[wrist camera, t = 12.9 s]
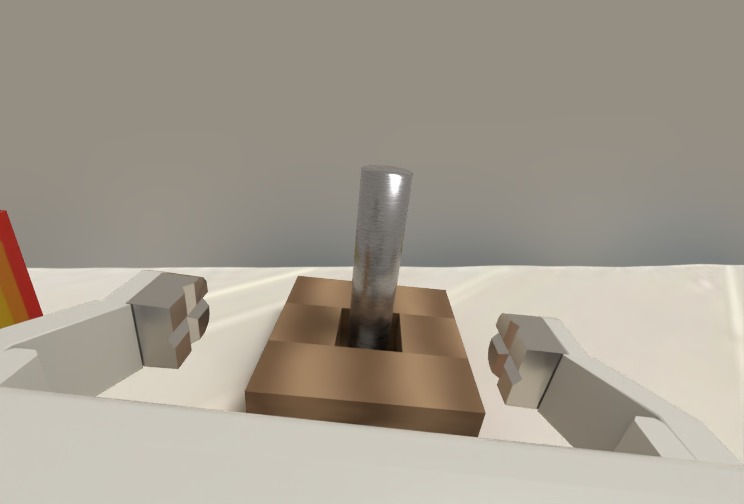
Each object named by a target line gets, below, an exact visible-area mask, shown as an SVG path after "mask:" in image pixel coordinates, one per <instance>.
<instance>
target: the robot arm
mask: <svg viewBox="0 0 744 504" xmlns="http://www.w3.org/2000/svg"><path fill="white" fill-rule="evenodd" d="M207 292H208V290H207V282H206V280H205V279H204V278H203V277H198V276H190V275H183V274H176V273H169V272H162V271H153V270H143V271H141V272H140V273H139V274H137V275H136V276H135V277H133V278H132V279H131V280H129V281H128V282H127V283H125V284H124V285H122V286H121V287H120V288H118V289H117V290H116V291H114V292H113V293H112V294H110V295H109V296H108V297H106V298H105V299H104V300H102V301H97V300H95V301H91V302H88V303H85V304H81V305H78V306H75V307H71V308H68V309H65V310H61V311H58V312H55V313H51V314H48V315H45V316H41V317H38V318H35V319H31V320H28V321H25V322H21V323H18V324H15V325H12V326H8V327H5V328H2V329H0V504H744V465H743V464H742V463H741V462H740V461H739V460H738V459H737V458H736V457H735V456H734V455H733V454H732V452H731V451H730V450H729V449H728V448H727V447H726V446H725V445H724V444H723V443H722V442H721V441H720V440H719V439H718V438H717V437H716V436H715V435H714V434H713V433H712V432H711V431H710V430H709V429H708V428H707V427H706V426H705V425H704V424H703V423H702V422H701V421H699V420H698V419H696V418H694V417H693V416H691V415H689V414H688V413H686V412H684V411H683V410H681V409H679V408H678V407H676V406H674V405H673V404H671V403H669V402H668V401H666V400H664V399H663V398H661V397H660V396H658V395H656V394H655V393H653V392H651V391H650V390H648V389H646V388H645V387H643V386H641V385H640V384H638V383H636V382H635V381H633V380H631V379H630V378H628V377H626V376H625V375H623V374H621V373H620V372H618V371H616V370H615V369H613V368H611V367H610V366H608V365H606V364H605V363H603V362H601V361H600V360H598V359H596V358H592V357H589V356H588V355H587V353H586V352H585V351H584V349H583V348H582V347H581V346H580V344H579V343H578V342H577V341H576V339H575V338H574V337H573V336H572V334H571V333H570V332H569V331H568V329H567V328H566V327H565V326H564V324H563V323H562V322H561V320H559V319H557V318H550V317H536V316H526V315H515V314H504V313H502V314H501V315H500V317H499V318H498V321H497V324H496V327H497V329H498V331H499V333H498V334H497V335H495V336H494V337H493V338H492V339H491V342H490V345H489V351H488V360H489V365H490V368H491V371H492V373H494V374H495V375H496V376H497V377H498V378H499V381H498V384H497V386H498V388H499V391H500V393H501V396H502V398H503V401H504V403H505V405H509V406H516V407H523V408H531V409H538V412H539V413H540V414H541V415H542V416H543V417H544V418H545V419H546V420H547V421H548V422H549V423H550V424H551V425H552V426H553V427H554V428H555V429H556V430H557V431H558V432H559V433H560V434H561V435H562V436H563V437H564V438H565V439H566V440H567V441H568V442H569V443H570V444H571V445H572V446H573V447H574V448H572V447H563V446H553V445H544V444H534V443H525V442H516V441H506V440H497V439H488V438H478V437H469V436H460V435H450V434H441V433H432V432H422V431H413V430H404V429H394V428H385V427H375V426H366V425H356V424H346V423H337V422H327V421H318V420H308V419H299V418H289V417H280V416H270V415H261V414H252V413H242V412H233V411H224V410H214V409H205V408H195V407H186V406H177V405H167V404H158V403H149V402H139V401H130V400H120V399H111V398H102V397H96V396H97V395H99V394H101V393H102V392H104V391H106V390H107V389H109V388H110V387H112V386H114V385H115V384H117V383H119V382H120V381H122V380H124V379H125V378H127V377H129V376H130V375H132V374H134V373H135V372H137V371H139V370H140V369H142V368H143V366H146V367H159V368H171V369H179V367H180V366H181V365H182V363H183V362H184V360H185V359H186V358H187V356H188V355H189V354H190V352H191V351H192V350H191V344H192V343H194V342H196V341H198V340H200V338H201V337H202V336H203V334H204V333H205V330H206V328H207V325H208V322H209V305H208V304H207V303H206V301H205V300H204V299H203V297H204V296H205V294H206V293H207Z"/></svg>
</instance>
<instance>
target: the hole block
mask: <svg viewBox="0 0 744 504" xmlns="http://www.w3.org/2000/svg"><path fill="white" fill-rule="evenodd" d="M351 291H352V281H345V280H335V279H324V278H314V277H304V276H298V277H297V280H296V282H295V284H294V286H293V288H292V290H291V293H290V295H289V297H288V299H287V301H286V303H285V306H284V308H283V310H282V312H281V314H280V316H279V319H278V321H277V323H276V325H275V327H274V329H273V332H272V334H271V336H270V338H269V340H268V342H267V345H266V347H265V349H264V351H263V353H262V355H261V358H260V360H259V362H258V364H257V366H256V368H255V371H254V373H253V375H252V377H251V379H250V381H249V384H248V386H247V388H246V390H245V398H246V412H247V413H252V414H261V415H270V416H280V417H289V418H299V419H308V420H318V421H327V422H337V423H346V424H356V425H366V426H375V427H385V428H394V429H404V430H413V431H422V432H432V433H441V434H450V435H460V436H469V437H478V435H479V432H480V429H481V425H482V422H483V419H484V416H485V410H484V407H483V404H482V401H481V398H480V395H479V392H478V389H477V386H476V382H475V379H474V376H473V373H472V370H471V367H470V364H469V361H468V358H467V355H466V352H465V349H464V346H463V343H462V339H461V336H460V333H459V330H458V327H457V324H456V321H455V318H454V315H453V312H452V309H451V306H450V303H449V300H448V296H447V293H446V290H438V289H428V288H417V287H407V286H397V288H396V295H395V302H394V309H393V316H392V323H391V330H390V337H389V344H388V351H381V350H371V349H360V348H349V347H347V340H348V328H349V315H350V303H351ZM339 346H340V347H339ZM392 351H394V352H392Z"/></svg>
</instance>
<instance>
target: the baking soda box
mask: <svg viewBox="0 0 744 504" xmlns="http://www.w3.org/2000/svg"><path fill="white" fill-rule="evenodd" d="M41 316H43V314H42V311H41V308H40V305H39V302H38V299H37V297H36V294H35V291H34V288H33V285H32V282H31V280H30V277H29V274H28V271H27V268H26V266H25V263H24V260H23V257H22V254H21V251H20V248H19V246H18V243H17V240H16V237H15V234H14V231H13V228H12V226H11V223H10V220H9V217H8V214H7V211H5V210H0V329H2V328H5V327H8V326H12V325H15V324H18V323H21V322H25V321H28V320H31V319H35V318H38V317H41Z"/></svg>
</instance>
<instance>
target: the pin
mask: <svg viewBox="0 0 744 504" xmlns="http://www.w3.org/2000/svg"><path fill="white" fill-rule="evenodd" d="M412 175H413V173H412V172H411V171H408V170H406V169H402V168H398V167H391V166H381V165H380V166H379V165H373V166H372V165H370V166H364V167H362V168H361V180H360V192H359V204H358V217H357V229H356V241H355V254H354V266H353V278H352V291H351V303H350V315H349V328H348V340H347V347H349V348H360V349H371V350H381V351H388V344H389V337H390V330H391V323H392V316H393V309H394V302H395V295H396V288H397V281H398V274H399V267H400V260H401V253H402V246H403V239H404V232H405V225H406V217H407V211H408V204H409V197H410V190H411V182H412Z"/></svg>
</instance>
